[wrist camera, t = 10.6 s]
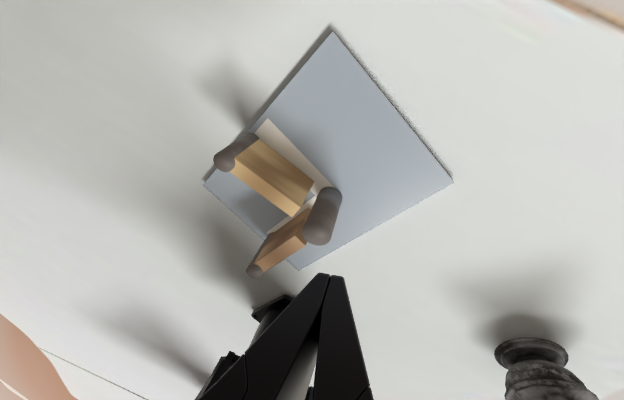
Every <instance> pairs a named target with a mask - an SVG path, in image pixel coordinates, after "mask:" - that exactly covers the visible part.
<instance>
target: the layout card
mask: <svg viewBox="0 0 624 400" xmlns="http://www.w3.org/2000/svg"><path fill="white" fill-rule="evenodd" d="M248 133H254V134H256V135H257V136H258V137H259V139H260V140H261V141H263V142H264V143H265V144H267V145H268V146H269V147H271V148H272V149H273V150H275V151H276V152H277V153H278V154H280V155H281V156H282V157H284V158H285V159H286V160H288V161H289V162H290V163H291V164H293V165H294V166H295V167H297V168H298V169H299V170H301V171H302V172H303V173H305V174H306V175H307V176H308V177H310V178H311V179H312V180H314V183H313V185H312V187H311V189H310V191H309V193H308V195H307V197H306V198H305V200H304V202H303V204H302V206H301V208H300V209H299V210H298V211H297V212H296V213H295V215H294V216H293V217H291V216H289V215H288V214H287V213H285V212H284V211H283V210H281V209H280V208H278V207H277V206H276V205H274V204H273V203H272V202H270V201H269V200H267V199H266V198H265V197H263V196H262V195H261V194H259V193H258V192H257V191H255V190H254V189H252V188H251V187H250V186H248V185H247V184H246V183H244V182H243V181H242V180H240V179H239V178H237V177H236V176H235V175H233V174H232V173H231V172H222V171H220V170H219V169H218V168H217V169H216V170H215V171H214V172H213V174H212V175H211V176H210V177H209V178H208V179H207V181H206V182H205V183H204V184H203V186H204V187H206V188H207V189H208V190H209V191H210V192H211V193H212V194H213V195H214V196H216V197H217V198H218V199H219V200H220V201H221V202H222V203H223V204H224V205H226V206H227V207H228V208H229V209H230V210H231V211H232V212H233V213H234V214H236V215H237V216H238V217H239V218H240V219H241V220H242V221H243V222H244V223H246V224H247V225H248V226H249V227H250V228H251V229H252V230H253V231H255V232H256V233H257V234H258V235H259V236H260V237H261V238H262V239H263V240H265V239H266V238H267V236H268V234H269V233H271V232H276V231H277V230H278V229H280V228H281V227H282V226H284V225H285V224H286V223H288V222H289V221H290V220H292V219H293V218H294V217H296V216H297V215H299V214H300V213H301V212H303V211H304V210H305V209H307V208H308V207H309V208H310V209H312V207H313V205H314V202H315V200H316V198H317V196H318V194H319V192H320V190H321V189H323V188H324V187H334V188H336V189H338V190H339V191H340V192H341V194H342V202H341V206H340V209H339V213H338V216H337V220H336V223H335V226H334V230H333V233H332V237H331V240H330V241H329V242H328V243H327V244H325V245H322V246H317V245H313V244H311V243H309V242H308V241H307V244H306V246H305V247H303V248H301V249H300V250H298V251H297V252H295V253H294V254H292V255H290V256H289V257H287V258H286V260H287V261H288V262H289V263H290V264H291V265H292V266H294V267H295V268H296V269H297V270H298V271H299V270H301V269H302V268H304V267H306V266H308V265H310V264H311V263H313V262H315V261H317V260H318V259H320V258H322V257H324V256H325V255H327V254H329V253H331V252H332V251H334V250H336V249H338V248H340V247H341V246H343V245H345V244H347V243H348V242H350V241H352V240H354V239H355V238H357V237H359V236H361V235H362V234H364V233H366V232H368V231H369V230H371V229H373V228H375V227H377V226H378V225H380V224H382V223H384V222H385V221H387V220H389V219H391V218H392V217H394V216H396V215H398V214H399V213H401V212H403V211H405V210H407V209H408V208H410V207H412V206H414V205H415V204H417V203H419V202H421V201H422V200H424V199H426V198H428V197H429V196H431V195H433V194H435V193H436V192H438V191H440V190H442V189H444V188H445V187H447V186H449V185H451V184H452V183H454V181H453V179H452V178H451V177H450V176H449V174H448V173H447V172H446V171H445V169H444V168H443V167H442V166H441V164H440V163H439V162H438V161H437V159H436V158H435V157H434V156H433V154H432V153H431V152H430V151H429V150H428V148H427V147H426V146H425V145H424V143H423V142H422V141H421V140H420V138H419V137H418V136H417V135H416V133H415V132H414V131H413V130H412V128H411V127H410V126H409V125H408V123H407V122H406V121H405V120H404V118H403V117H402V116H401V115H400V113H399V112H398V111H397V110H396V108H395V107H394V106H393V105H392V103H391V102H390V101H389V100H388V98H387V97H386V96H385V95H384V93H383V92H382V91H381V90H380V89H379V87H378V86H377V85H376V84H375V82H374V81H373V80H372V79H371V77H370V76H369V75H368V74H367V72H366V71H365V70H364V69H363V67H362V66H361V65H360V64H359V62H358V61H357V60H356V59H355V57H354V56H353V55H352V54H351V52H350V51H349V50H348V49H347V47H346V46H345V45H344V44H343V42H342V41H341V40H340V39H339V37H338V36H337V35H336V34H335V32H333V31H332V33H331V34H330V35H329V36H328V37H327V38H326V40H325V41H324V42H323V43H322V44H321V46H320V47H319V48H318V49H317V50H316V51H315V53H314V54H313V55H312V56H311V57H310V59H309V60H308V61H307V62H306V63H305V65H304V66H303V67H302V68H301V69H300V70H299V72H298V73H297V74H296V75H295V76H294V78H293V79H292V80H291V81H290V82H289V83H288V85H287V86H286V87H285V88H284V89H283V91H282V92H281V93H280V94H279V95H278V97H277V98H276V99H275V100H274V101H273V102H272V104H271V105H270V106H269V107H268V108H267V110H266V111H265V112H264V113H263V114H262V115H261V117H260V118H259V119H258V120H257V121H256V123H255V124H254V125H253V126H252V127H251V129H250V130H249V131H248V132H247V133H246V134H248ZM246 134H245V135H246Z"/></svg>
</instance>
